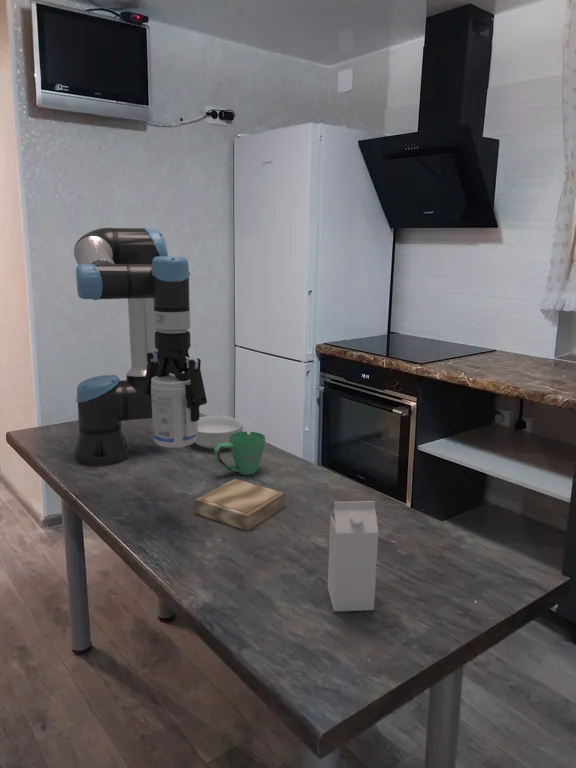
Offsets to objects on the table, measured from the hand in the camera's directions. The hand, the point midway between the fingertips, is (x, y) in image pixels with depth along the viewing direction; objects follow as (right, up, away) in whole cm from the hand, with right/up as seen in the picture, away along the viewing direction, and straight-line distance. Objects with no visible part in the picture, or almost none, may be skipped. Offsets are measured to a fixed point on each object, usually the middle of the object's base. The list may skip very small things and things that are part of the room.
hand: (175, 430), depth 133 cm
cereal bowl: (+2, -9, +53) cm, 54 cm away
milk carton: (+36, -29, -26) cm, 53 cm away
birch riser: (+14, -20, +9) cm, 25 cm away
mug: (+12, -14, +31) cm, 36 cm away
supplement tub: (0, -3, +1) cm, 3 cm away
